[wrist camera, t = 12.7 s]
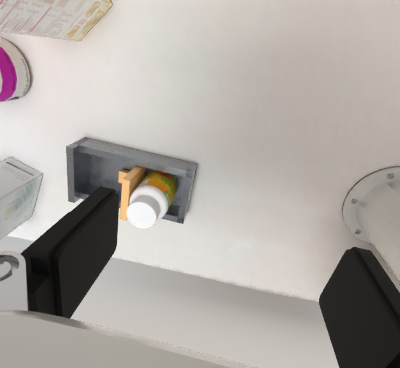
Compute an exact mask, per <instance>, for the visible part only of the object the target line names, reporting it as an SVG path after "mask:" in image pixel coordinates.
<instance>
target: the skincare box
mask: <svg viewBox="0 0 400 368" xmlns="http://www.w3.org/2000/svg"><path fill="white" fill-rule="evenodd" d="M42 177H43V174H42V173H40V172H38V171H37V170H35V169H32V168H31V167H29V166H27V165H25V164H23V163H21V162H19V161H17V160H15V159H14V158H12V157H10V158H8V159H6V160H3V161H1V162H0V240H1V239H2V238H4V237H5V236H6V235H8V234H9V233H10V232H12V231H13V230H14V229H16V228H17V227H18V226H19V225H21V224H22V223H23V222H25V221H26V220H27V219H29V218H30V217H31V216H32V214H33V210H34V206H35V202H36V199H37V195H38V191H39V187H40V184H41V180H42Z"/></svg>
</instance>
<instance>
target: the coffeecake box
mask: <svg viewBox="0 0 400 368" xmlns="http://www.w3.org/2000/svg"><path fill="white" fill-rule="evenodd" d="M111 6H112V3H111V2H110V0H0V32H6V33H15V34H23V35H32V36H40V37H50V38H58V39H66V40H75V41H81V40H82V38H83V37H84V36H85V35H86V34H87V33H88V32H89V30H90V29H91V28H92V27H93V26H94V25H95V24H96V22H97V21H98V20H99V19H100V18H101V17H102V16H103V15H104V14H105V13H106V12H107V11H108V10H109V8H110V7H111Z"/></svg>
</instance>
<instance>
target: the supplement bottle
mask: <svg viewBox="0 0 400 368" xmlns="http://www.w3.org/2000/svg"><path fill="white" fill-rule="evenodd" d="M177 189H178V183H177V180H176V178H175V176H174V175H173V174H170V173H166V172H162V171H158V170H153V171H151V172H150V173H148V175H147V176H146V177H145V178H144V179H143V180H142V182H141V183H140V184H139V185H138V187H137V188H136V189H135V190H134V191H133V193H132V194H131V196H130V200H129V204H130V205H129V206H128V208H127V211H126V214H127V218H128V220H129V221H130V223H131V224H133V225H134V226H136V227H138V228H142V229H146V228H150V227H151V226H153V225H154V224H155V222H156V221H157V220H160V219H161V218H162V217H163V216H164V215H165V214H166V212H167V210H168V208H169V206H170V204H171V202H172V200H173V198H174V196H175V194H176V192H177Z"/></svg>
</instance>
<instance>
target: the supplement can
mask: <svg viewBox="0 0 400 368" xmlns="http://www.w3.org/2000/svg"><path fill="white" fill-rule="evenodd" d="M29 82H30V75H29V69H28V66H27V64H26V62H25V59H24V57H23V56H22V54H21V53H20V52H19V51H18V49H17V48H16V47H15V46H14V45H12V44H11V43H10V42H8V41H7V40H5V39H2V38H0V102H1V101H7V100H13V99H18V98H20V97H21V96H23V95H25V93H26V91H27V90H28V88H29Z"/></svg>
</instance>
